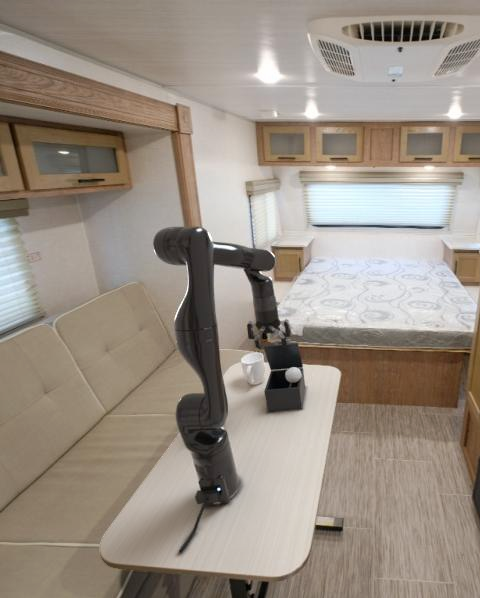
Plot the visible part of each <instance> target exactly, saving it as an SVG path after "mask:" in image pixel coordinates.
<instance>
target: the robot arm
mask: <svg viewBox="0 0 480 598" xmlns="http://www.w3.org/2000/svg"><path fill="white" fill-rule="evenodd" d="M152 248H153V251H154V254H155V255H156V256H157V258H158V259H159V260H161V261H162V262H163V263H165V264H167V265H172V266H181V267H182V266H183V267H185V266H186V270H187V271H186V272H187V287H186V292H185V294H184V297H183V299H182V301H181V303H180V304H179V305H178V306H179V307H178V308H177V311H176V313H175V316H174V319H173V329H174V338H175V345H176V349H177V351H178V352H179V354H180V356H181V357H182V359H183V360H184V361H185V362H186V363H187V364H188V365H189V366H190V368H191V369H192V370H193V371H194V373H195V374H196V375H197V377H198V378H199V381H200V382H201V385H202V388H203V392H190V393H186V394H184V395H183V396H181V398H180V399H179V400H178V402H177V404H176V407H175V422H176V427H177V429H178V432H179V434H180V437H181V439H182V442H183V444H184V446H185V447H184V448H186V450H188V451H189V452H190V455H191V459H192V462H193V466H194V469H195V472H196V476H197V479H198V487H199V489H200V490H197V491H196V493H195V495H194V498H195V502H196V505H202V506H201V508H200V511H199V513H198V515H197V517H196V520H195V523H194V526H193V529H192V530H191V532H190V534H189V536H188V537H187V539H186V540H185V542H184V543H183V544H182V545H181V547H180V548H179V550H178V552H179V553H183V551H185V550H184V549H185V548H186V547H187V545H188V544H189V543H190V541H191V540H192V539H193V537H194V535H195V533H196V532H197V528H199V527H198V526H199V523H200V520H201V517H202V516H203V513H204V511H205V509H206V507H210V506H211V507H212V506H218V505H225V504H229V503H230V501H231V499H232V498H234V497H235V496H236V495H237V493H238V492H239V490H240V487H241V480H240V478H239V475H238V471H237V466H236V463H235V457H234V455H233V451H232V447H231V442H230V439H229V438H230V437H229V434H228V431H227V429H226V428H225V427H224V426H225V424H226V422H227V420H228V415H229V401H228V395H227V390H226V385H225V381H224V374H223V370H222V363H221V353H220V352H221V351H220V338H219V337H220V335H219V326H218V318H217V311H216V298H215V266H220V267H225V268H233V269H238V270H239V269H240V270H243V272H244V273H245V276H246V278H247V280H248V282H249V283H250V287H251V288H250V289H251V294H252V305H253V310H254V316H255V317H254V318H255V322H253V321H252V320H250V321H248V323H247V324H246V330H247V338H248V339H249V340H254V344H255V345H254V346H255V348H256V349H257V350H261V348H262V343H261V338H260V337H261V336H262V334H264V335H267V334H276V335H277V336H279V337H280V338H281V339H280V340H281V341H282V347H285V346H286V344H287V340H286V339H287V338H289V337H291V334H292V331H291V325H290V321H289V319H288V318H285V320H281V319H280V317H279V310H278V301H277V298H276V297H277V296H276V295H275V294H276V293H275V289H274V281H273V279H272V278H271V277H270V276H267V275H265V274H263V273H262V272H271V271H272V270H273V269H274V268H275V266H276V263H277V262H276V257H275V255H274V253H272V252H271V251H270V250H267V249H262V248H252V247H248V246H245V245H241V244H237V243H232V242H224V241H213V238H212V235H211V234H210V232H209V231H208V230H207V229H206V228H204V227H203V226H195V225H193V226H189V225H188V226H168V227H164V228H162V229H160V230H159V231H157V232H156V233H155V235H154V237H153V240H152ZM281 326H282V327H284V330H285V331H284V330H283V328H282V327H281ZM255 327H256V328H257V330H258V331H257V332H256V334H254V328H255Z"/></svg>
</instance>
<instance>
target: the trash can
mask: <svg viewBox="0 0 480 598" xmlns="http://www.w3.org/2000/svg"><path fill="white" fill-rule="evenodd" d="M298 369H300V371H301V374H302V377H301V378H300V380H299V381H297V382H295V383H292V384H291V387H290V388H289V386H290V383H291V382H289V381H287V379H286V376H285V373H286V371H287V370H288V369H280V370H270V372H269V376H268V379H267V382H266V384H265V388H264V391H263V392H264V398H265V404H266V408H267V409H266V410H267V413H279V412H287V411H297V410H303V406H304V400H305V393H306V380H305V373H304V367H303V368H298Z"/></svg>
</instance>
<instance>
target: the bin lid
mask: <svg viewBox="0 0 480 598" xmlns="http://www.w3.org/2000/svg"><path fill="white" fill-rule="evenodd" d="M286 340H287V344H286V346H285V347H282V341H281V339H275V340H274V343H273V344H263V346H262V347H263V350H264V354H265V357H266V359H267V363H268V366H269V370H270V371H272V370H284V369H289V368H292V367H296V368H303V369H304V364H303V360H302V355H301V351H300V345H299V342H292V341H291V340H292V339H291V338H286Z"/></svg>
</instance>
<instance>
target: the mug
mask: <svg viewBox="0 0 480 598" xmlns="http://www.w3.org/2000/svg"><path fill="white" fill-rule="evenodd" d="M240 363H241V364H240V365H241V368H242V374H243V377H244V379H245V380H246V381H247V383H249V384H250V385H252V386H256V385H259V384H261V383H262V382H263V380H264V377H265V374H266V365H265V358H264V354H263V353H262V352H258V351H257V352H250V353H247V354H245V355H244V356H242V357H241V358H240Z"/></svg>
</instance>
